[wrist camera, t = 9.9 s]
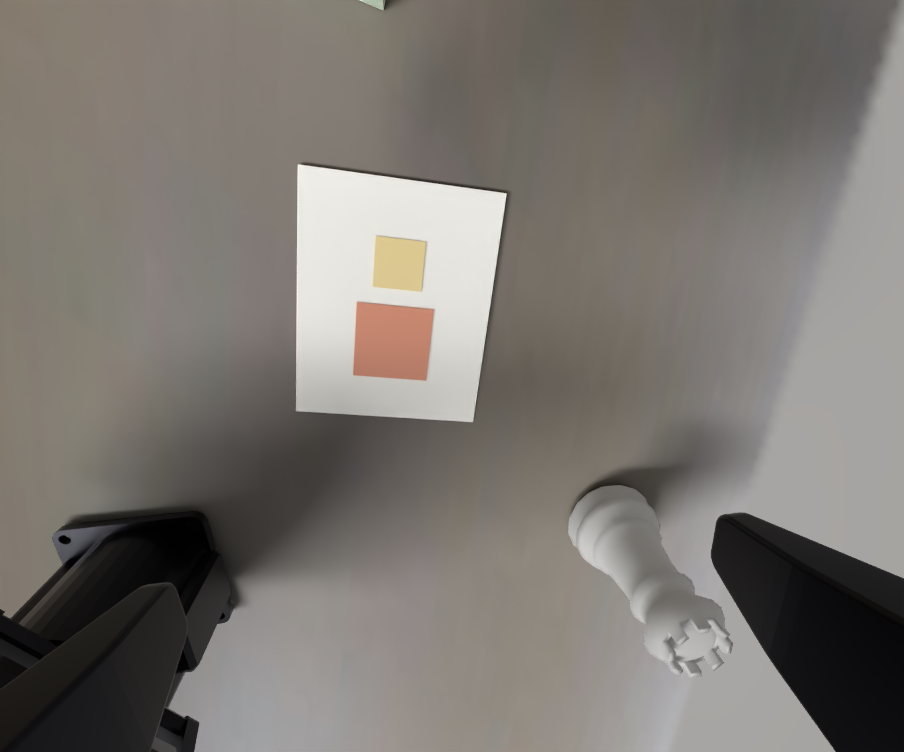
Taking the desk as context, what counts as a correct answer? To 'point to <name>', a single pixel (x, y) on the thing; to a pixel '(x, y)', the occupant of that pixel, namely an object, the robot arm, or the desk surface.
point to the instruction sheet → (392, 294)
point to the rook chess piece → (649, 578)
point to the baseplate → (375, 3)
